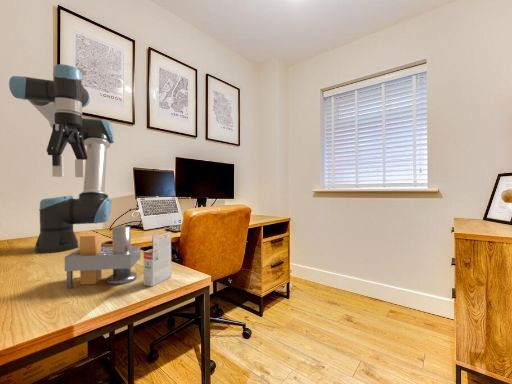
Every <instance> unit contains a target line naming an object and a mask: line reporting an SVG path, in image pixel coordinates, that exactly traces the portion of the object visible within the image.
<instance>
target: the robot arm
mask: <svg viewBox="0 0 512 384" xmlns="http://www.w3.org/2000/svg"><path fill="white" fill-rule="evenodd" d="M52 76H53V80H51V79H44V78H35V77H31V76H30V77H29V76H21V75H19V76H18V75H13V76H11V77H10V78H9V81H8V87H9V91H10V93H11V95H12V96H13V97H14V98H16V99H18V100H23V101H25V100H27V101H28V102H29V103H30V104H31V105H32V106H33V107H34V108H35V109H36V110H37V111H38V112H39V113H40V114H41V116H43V117H44V118H45V119H46V120H47V121H48V123H49V126H50V128H51V129H52V132H51V134H50V138H49V141H48V145H47V147H46V152H47V155H48V156H51V162H52V163H51V165H52V166H51V167H52V168H51V170H52V172H51V173H52V177H53V178H54V177H56V178H63V177H64V176H65V175H64V155H62V154H63V152H64V151H65V148H66V146H67V145H68V144H69V145H70V146H71V149H72V151H73V153H74V155H75V158H76V159H74V173H75V175H74V177H75V178H84V179H83V191H82V192H80V193H79V194H78V198H74V197H73V195H67V196H55V197H48V198H43V199H41V200H40V202H39V209H38V211H39V235H38V237H37V240H36V243H35V246H34V251H35V252H36V253H43V254H44V253H45V254H46V253H58V252H64V251H70V250H73V249H76V248H78V247H79V241H78V238H77V235H76V233H75V230H74V225H85V224H87V225H88V224H96V225H97V224H103V223H106V222H108V221H109V219H110V216H111V211H112V198H110V197H109V194H107V192H105V191H106V190H105V189H106V169H107V152H108V151H107V150H108V149H110V147H111V144H115V139H114V131H113V126H112V123H111V121H109V120H107V119H101V118H100V119H99V118H98V119H97V118H87V117H82V115H83V108H85V107H88V105H89V104H90V102H91V97H90V94H89V92H88V90H87V88H85V87H84V85H83V83H82V80H83V78H82V72H81V70H80V69H79V68H77V67H75V66H73V65H68V64H62V63H59V64H56V65H54V67H53V73H52Z"/></svg>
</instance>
